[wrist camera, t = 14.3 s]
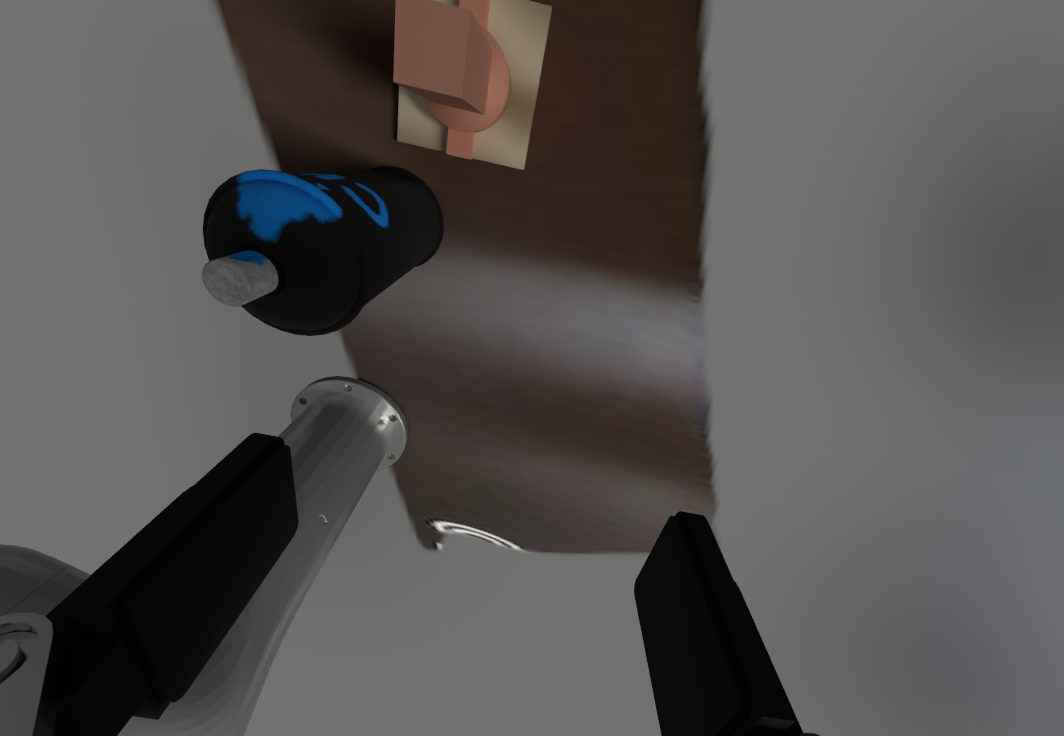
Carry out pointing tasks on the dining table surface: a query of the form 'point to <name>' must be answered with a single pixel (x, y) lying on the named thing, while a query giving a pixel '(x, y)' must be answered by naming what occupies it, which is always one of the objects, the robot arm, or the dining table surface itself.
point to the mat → (523, 48)
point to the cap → (452, 66)
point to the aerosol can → (316, 242)
